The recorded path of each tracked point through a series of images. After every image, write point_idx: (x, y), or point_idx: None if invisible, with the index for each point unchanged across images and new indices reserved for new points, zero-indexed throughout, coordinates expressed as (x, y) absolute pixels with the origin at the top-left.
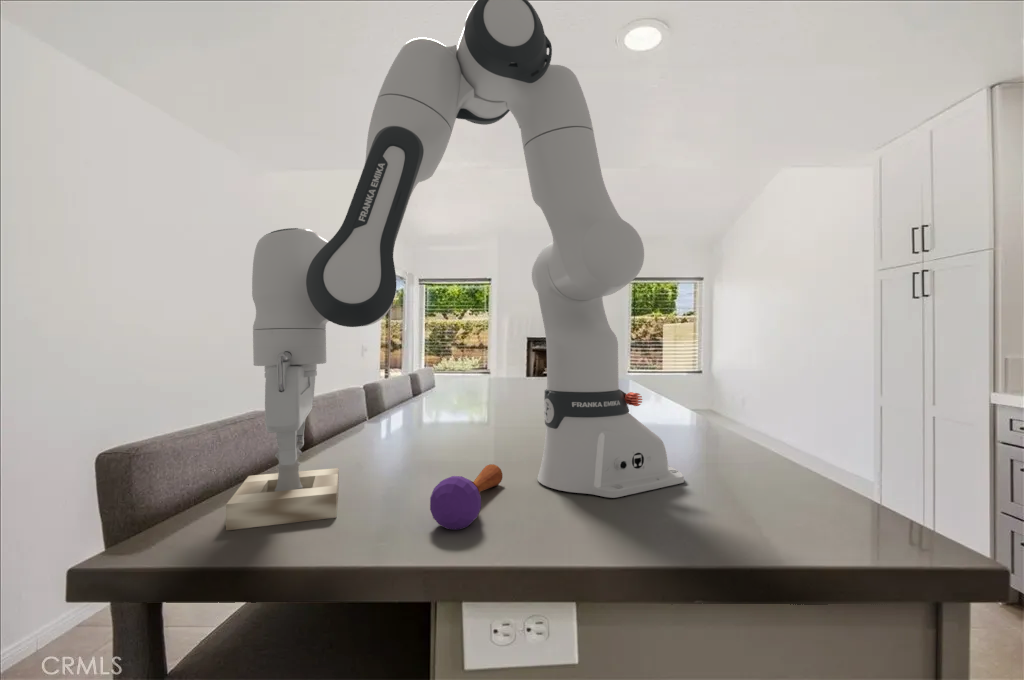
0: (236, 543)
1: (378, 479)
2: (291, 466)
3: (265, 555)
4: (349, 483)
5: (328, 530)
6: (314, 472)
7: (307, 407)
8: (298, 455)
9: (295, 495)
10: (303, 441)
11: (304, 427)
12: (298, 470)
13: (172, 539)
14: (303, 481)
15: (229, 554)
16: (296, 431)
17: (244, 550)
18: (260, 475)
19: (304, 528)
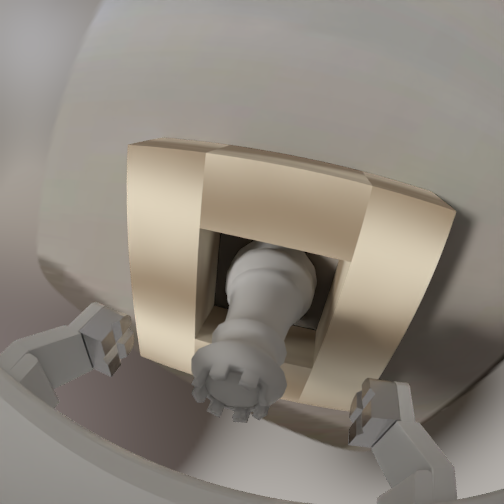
0: (427, 363)
1: (130, 31)
2: (283, 349)
3: (501, 330)
4: (131, 107)
5: (489, 228)
6: (154, 224)
7: (97, 501)
8: (271, 357)
9: (399, 312)
10: (91, 313)
11: (39, 334)
12: (254, 309)
13: (340, 417)
14: (203, 256)
15: (459, 367)
16: (425, 486)
17: (462, 353)
18: (145, 340)
19: (448, 267)
